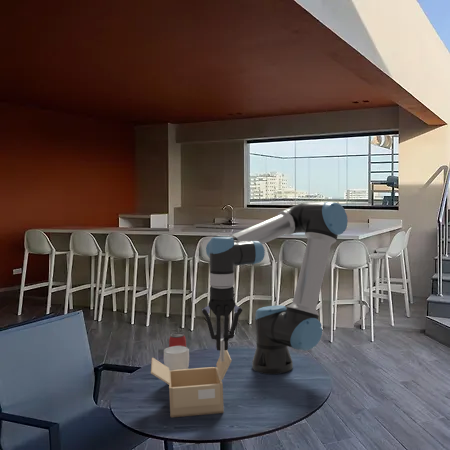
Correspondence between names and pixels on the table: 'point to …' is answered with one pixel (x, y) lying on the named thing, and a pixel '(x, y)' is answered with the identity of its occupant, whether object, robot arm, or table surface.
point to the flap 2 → (223, 364)
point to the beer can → (177, 340)
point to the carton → (195, 392)
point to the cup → (176, 357)
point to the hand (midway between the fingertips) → (222, 360)
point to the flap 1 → (160, 371)
